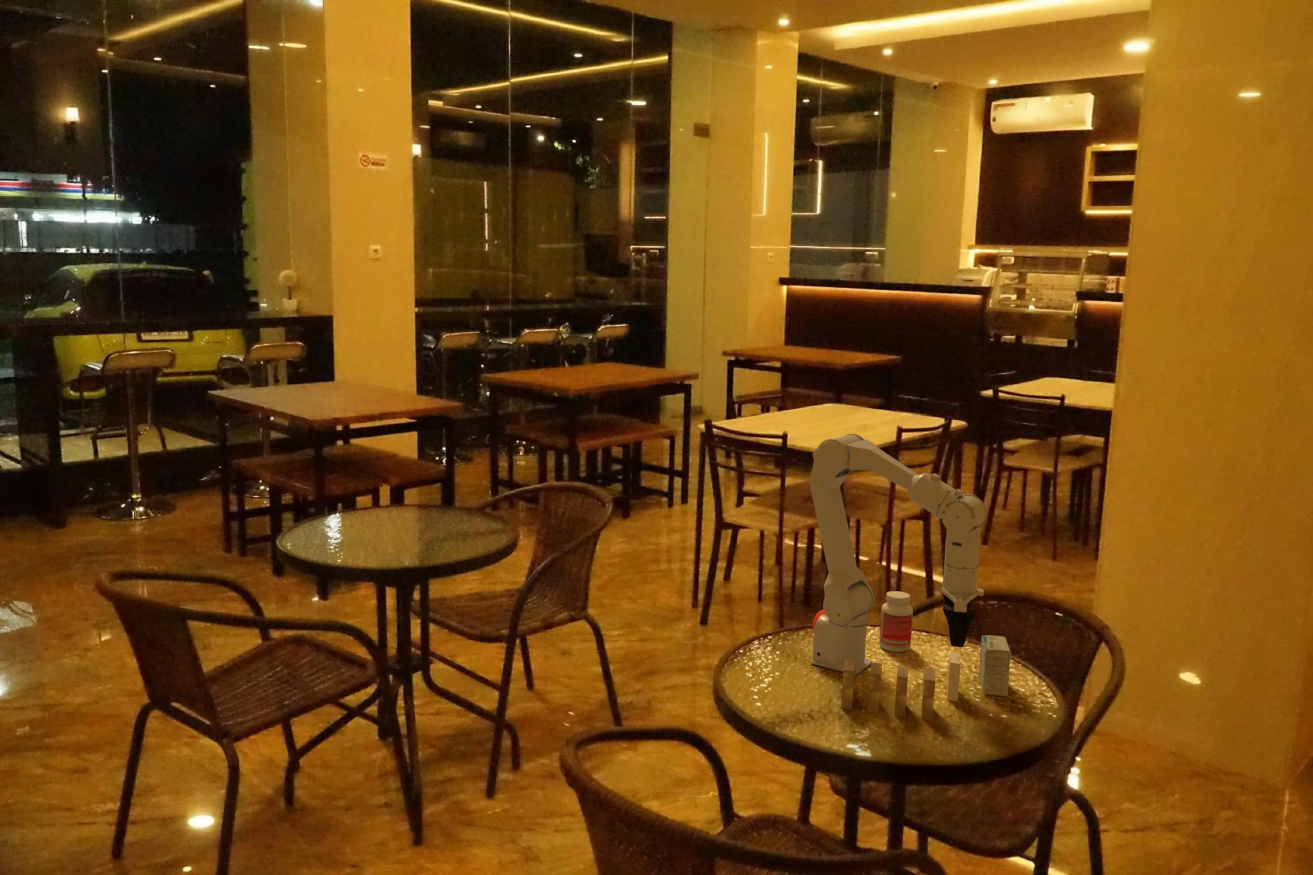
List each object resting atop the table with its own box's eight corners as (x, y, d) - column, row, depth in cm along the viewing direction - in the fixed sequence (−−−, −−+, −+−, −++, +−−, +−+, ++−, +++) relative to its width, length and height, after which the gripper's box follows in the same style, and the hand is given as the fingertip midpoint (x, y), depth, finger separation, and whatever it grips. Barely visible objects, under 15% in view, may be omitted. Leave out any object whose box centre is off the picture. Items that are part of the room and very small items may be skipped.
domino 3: (894, 714, 177) (896, 676, 176) (895, 703, 182) (897, 665, 181) (905, 716, 177) (907, 677, 176) (905, 704, 182) (908, 666, 180)
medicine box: (1007, 697, 186) (1011, 651, 184) (981, 694, 187) (985, 648, 185) (1002, 680, 193) (1006, 636, 192) (977, 678, 194) (981, 633, 193)
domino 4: (921, 718, 176) (924, 679, 175) (921, 706, 181) (924, 668, 180) (932, 719, 176) (935, 680, 174) (932, 707, 180) (935, 669, 179)
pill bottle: (915, 651, 206) (919, 598, 205) (887, 653, 205) (890, 600, 203) (901, 640, 212) (905, 588, 211) (873, 642, 211) (877, 590, 209)
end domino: (947, 700, 184) (950, 662, 183) (946, 689, 189) (949, 652, 188) (957, 701, 184) (960, 663, 182) (956, 690, 188) (959, 653, 187)
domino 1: (840, 707, 179) (843, 669, 178) (843, 696, 184) (845, 659, 183) (851, 709, 179) (853, 670, 178) (853, 697, 184) (855, 660, 183)
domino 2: (867, 711, 178) (870, 672, 177) (869, 699, 183) (871, 662, 182) (878, 712, 178) (880, 674, 177) (879, 701, 183) (882, 663, 181)
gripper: (987, 577, 174) (982, 655, 176) (983, 555, 188) (978, 627, 190) (943, 574, 176) (939, 650, 178) (942, 552, 190) (938, 623, 192)
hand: (956, 638), depth 184 cm, fingers open, 7 cm apart
